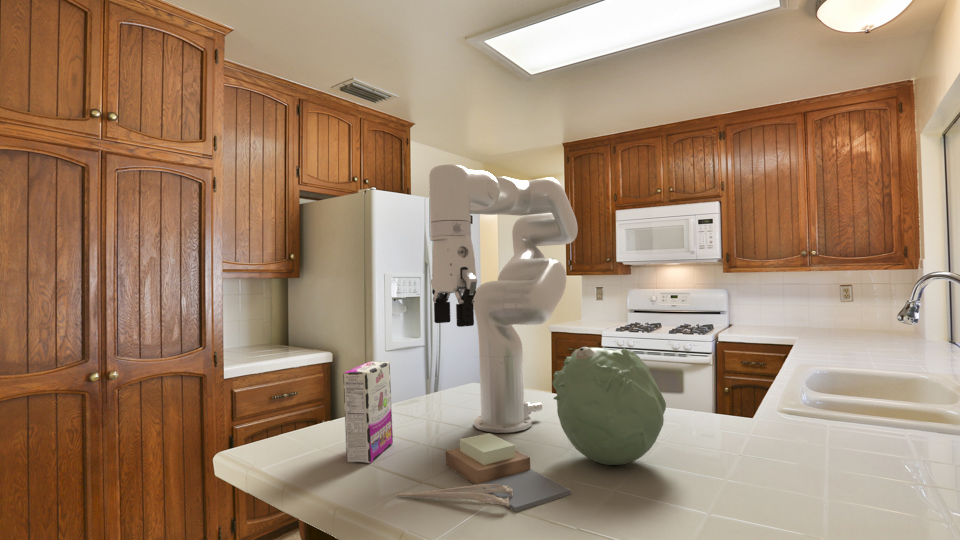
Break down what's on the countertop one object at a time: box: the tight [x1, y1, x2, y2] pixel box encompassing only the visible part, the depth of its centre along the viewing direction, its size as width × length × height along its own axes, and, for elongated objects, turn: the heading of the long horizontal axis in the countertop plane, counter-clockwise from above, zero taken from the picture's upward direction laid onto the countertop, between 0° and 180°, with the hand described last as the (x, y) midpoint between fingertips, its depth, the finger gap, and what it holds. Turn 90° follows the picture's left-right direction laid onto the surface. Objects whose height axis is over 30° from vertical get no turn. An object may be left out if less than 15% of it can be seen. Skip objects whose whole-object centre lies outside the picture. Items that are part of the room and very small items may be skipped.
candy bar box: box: [342, 360, 394, 464], centre depth 94 cm, size 11×5×16 cm, turn 168°
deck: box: [445, 447, 531, 485], centre depth 85 cm, size 10×11×2 cm
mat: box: [480, 469, 572, 513], centre depth 75 cm, size 10×10×1 cm
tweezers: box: [396, 484, 513, 508], centre depth 73 cm, size 17×5×2 cm, turn 76°
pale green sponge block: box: [459, 432, 516, 465], centre depth 85 cm, size 6×8×2 cm
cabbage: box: [552, 346, 667, 466], centre depth 86 cm, size 16×19×20 cm
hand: (453, 324), depth 93 cm, fingers open, 9 cm apart
